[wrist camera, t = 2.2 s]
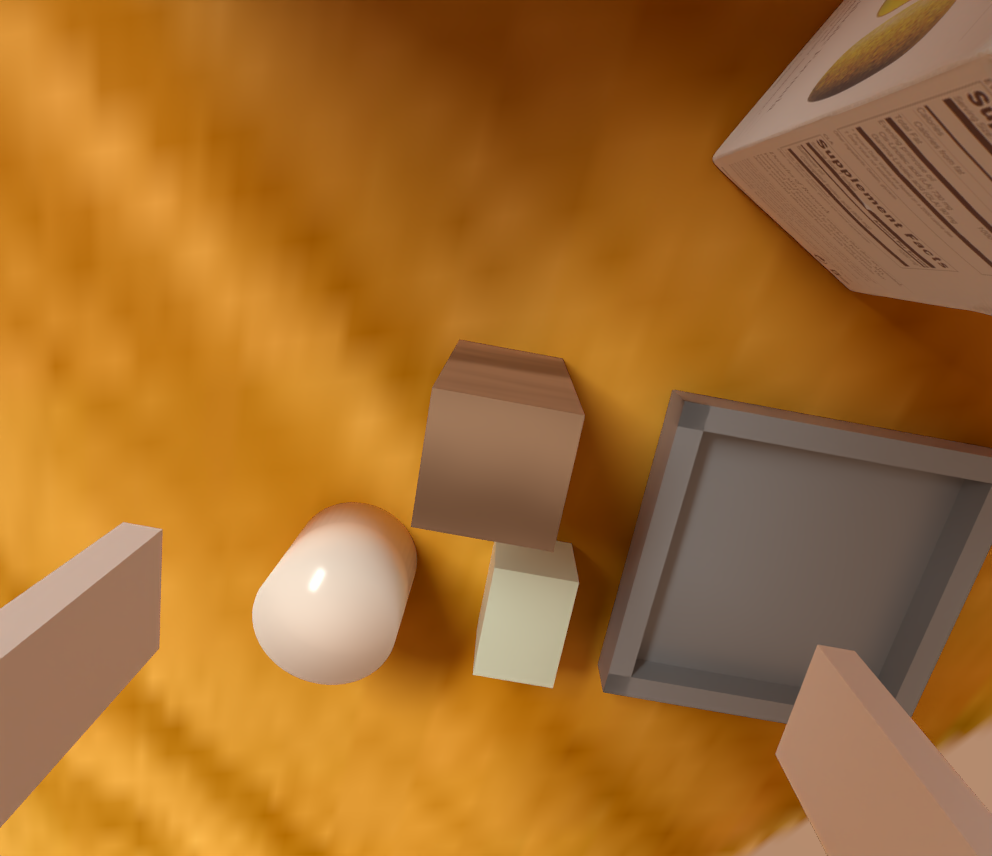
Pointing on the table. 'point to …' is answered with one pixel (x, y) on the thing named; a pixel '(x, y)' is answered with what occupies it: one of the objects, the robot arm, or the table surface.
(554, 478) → the walnut block
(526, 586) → the cream box
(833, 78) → the supplement box
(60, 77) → the table surface
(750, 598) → the tray
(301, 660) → the glossy white capsule
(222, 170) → the table surface
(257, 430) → the table surface
